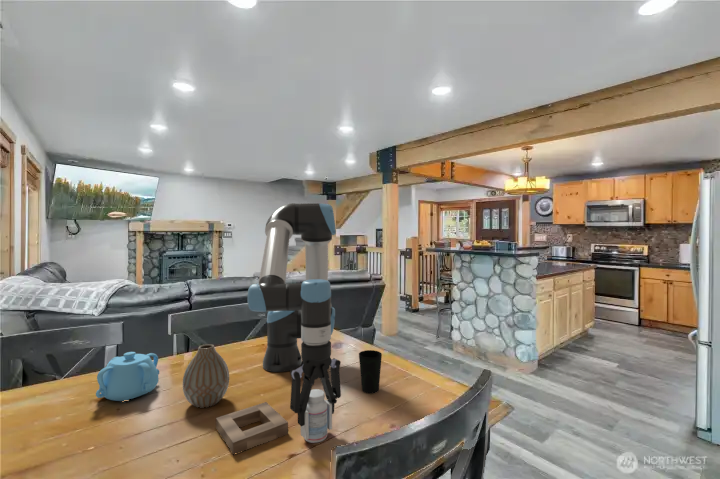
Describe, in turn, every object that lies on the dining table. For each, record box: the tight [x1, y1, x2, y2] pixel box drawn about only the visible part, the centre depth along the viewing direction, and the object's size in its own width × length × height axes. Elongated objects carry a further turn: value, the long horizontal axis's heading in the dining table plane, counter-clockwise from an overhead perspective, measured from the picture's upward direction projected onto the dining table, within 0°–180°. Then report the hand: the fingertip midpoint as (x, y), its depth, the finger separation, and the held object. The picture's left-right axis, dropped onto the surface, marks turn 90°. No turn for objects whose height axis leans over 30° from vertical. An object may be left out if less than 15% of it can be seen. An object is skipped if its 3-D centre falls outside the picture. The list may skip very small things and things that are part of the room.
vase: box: [182, 343, 230, 409], centre depth 105 cm, size 13×13×18 cm
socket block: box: [215, 401, 289, 455], centre depth 89 cm, size 14×14×3 cm
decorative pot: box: [95, 351, 160, 402], centre depth 111 cm, size 16×16×14 cm
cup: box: [358, 349, 383, 395], centre depth 113 cm, size 8×8×12 cm
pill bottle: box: [303, 388, 328, 444], centre depth 87 cm, size 6×6×11 cm
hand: (316, 431), depth 86 cm, fingers closed on pill bottle, 6 cm apart
